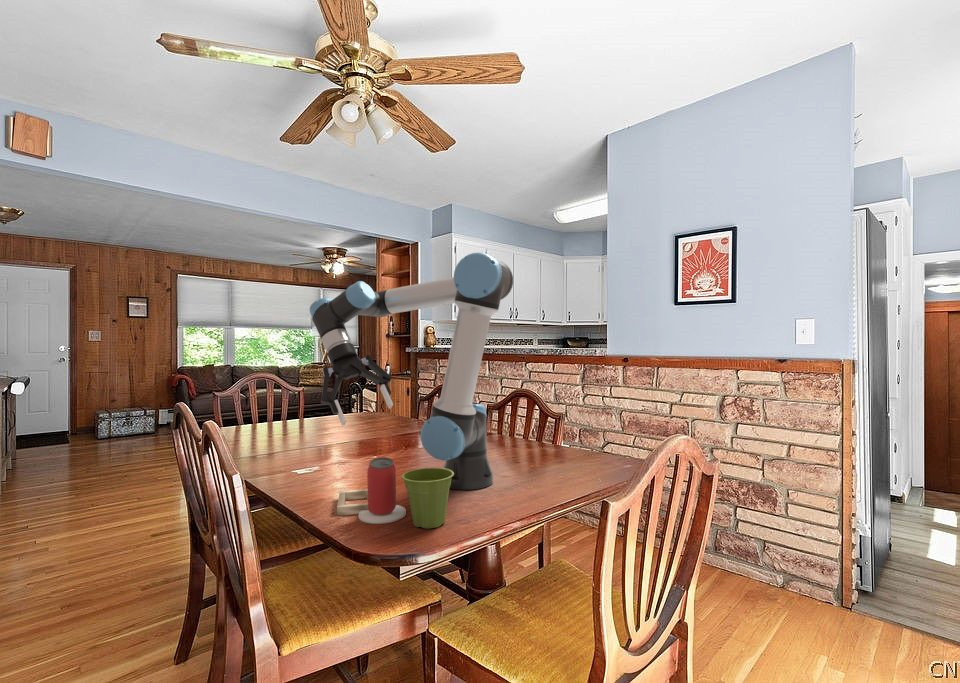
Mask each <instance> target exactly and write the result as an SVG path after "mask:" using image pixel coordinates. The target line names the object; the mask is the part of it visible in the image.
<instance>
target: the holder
mask: <svg viewBox="0 0 960 683" xmlns="http://www.w3.org/2000/svg"><path fill="white" fill-rule="evenodd" d="M364 498H365V499H368V488H365V489H353V490H341V491H339V493H338V499H337V505H336V516H338V517H339V516H348V515H349V516H350V515H359V512H360V511H361V510H368V502H363V503H360V502H359V503H351V504H346V501H348V500H349V501H350V500H351V501H352V500H363V499H364Z"/></svg>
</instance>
